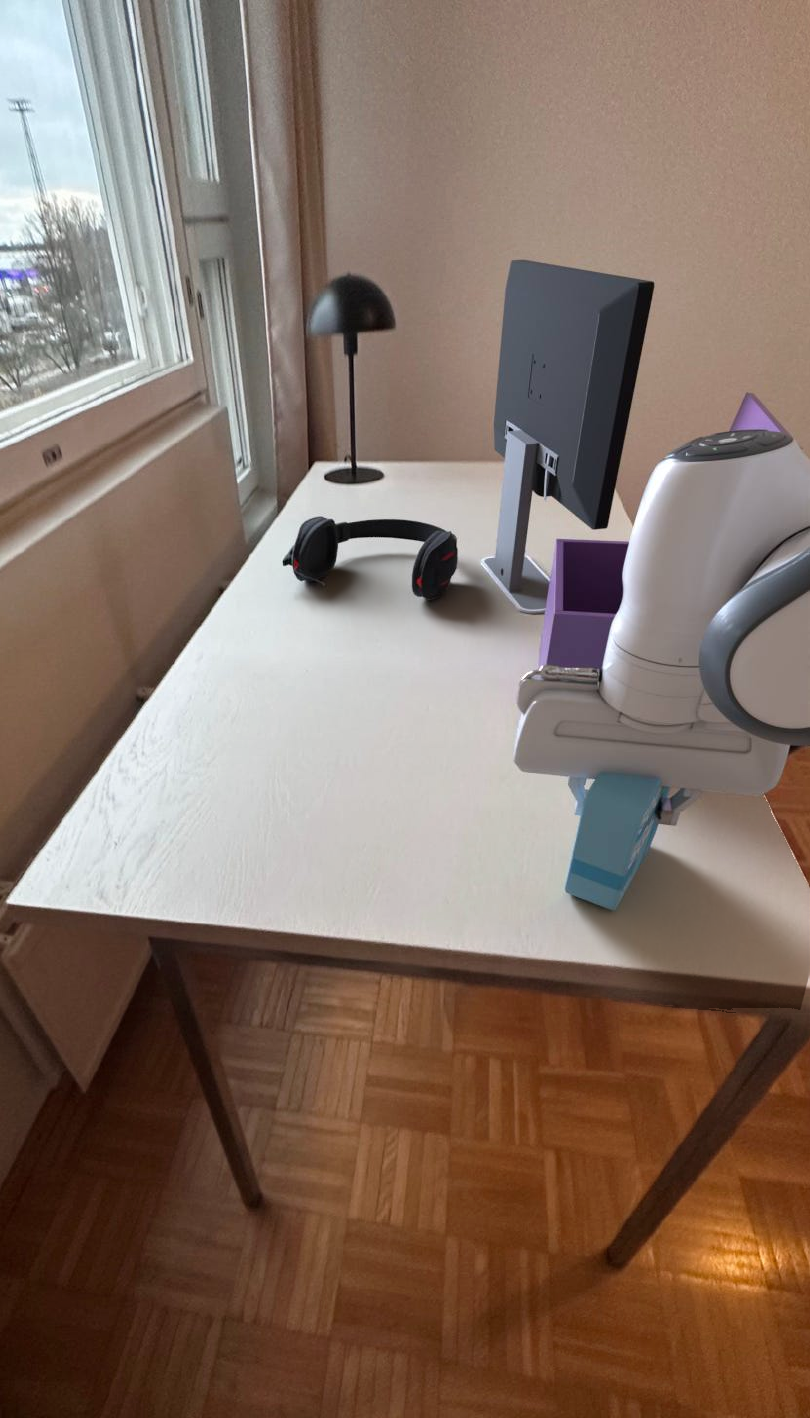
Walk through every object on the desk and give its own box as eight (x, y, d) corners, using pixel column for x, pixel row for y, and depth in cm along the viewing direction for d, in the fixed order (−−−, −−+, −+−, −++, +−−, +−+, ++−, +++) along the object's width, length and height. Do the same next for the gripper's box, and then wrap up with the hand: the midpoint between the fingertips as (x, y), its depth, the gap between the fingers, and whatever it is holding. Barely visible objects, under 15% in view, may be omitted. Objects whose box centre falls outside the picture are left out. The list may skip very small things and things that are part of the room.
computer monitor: (601, 635, 103) (675, 280, 77) (543, 642, 102) (598, 285, 76) (507, 536, 134) (537, 258, 107) (462, 540, 133) (481, 261, 107)
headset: (284, 620, 111) (279, 563, 105) (286, 555, 131) (282, 504, 125) (470, 610, 111) (474, 552, 105) (443, 546, 131) (446, 495, 125)
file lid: (793, 446, 61) (802, 448, 61) (746, 392, 77) (754, 393, 77) (706, 617, 72) (714, 619, 72) (680, 539, 88) (687, 540, 88)
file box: (534, 735, 85) (554, 613, 75) (539, 648, 101) (556, 538, 91) (670, 748, 82) (708, 622, 72) (653, 656, 98) (683, 543, 88)
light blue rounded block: (611, 918, 63) (643, 811, 55) (561, 898, 65) (585, 792, 57) (653, 840, 71) (687, 735, 63) (607, 824, 73) (634, 721, 65)
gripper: (519, 683, 54) (500, 825, 64) (822, 707, 50) (756, 854, 60) (523, 644, 59) (504, 781, 68) (801, 663, 55) (742, 806, 64)
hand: (624, 816), depth 64 cm, fingers closed on light blue rounded block, 5 cm apart
